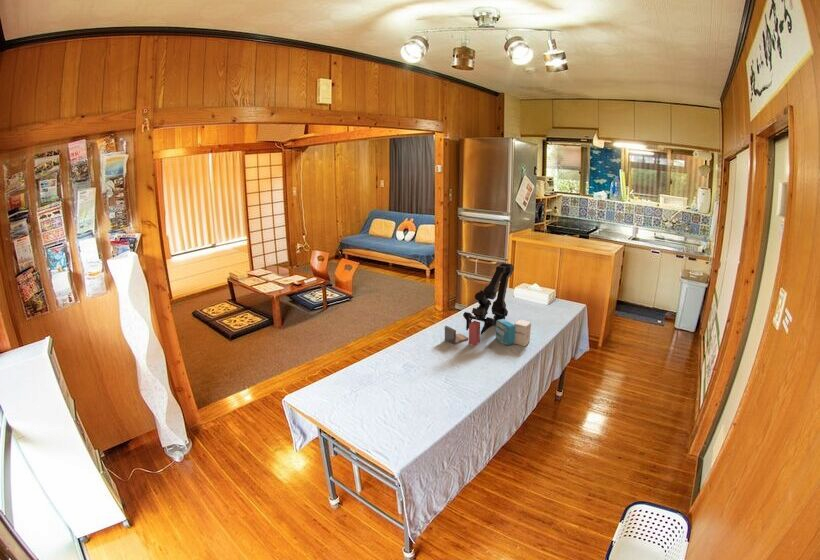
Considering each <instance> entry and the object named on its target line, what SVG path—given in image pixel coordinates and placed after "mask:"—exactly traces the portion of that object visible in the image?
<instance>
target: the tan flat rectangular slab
mask: <svg viewBox="0 0 820 560" xmlns="http://www.w3.org/2000/svg"><path fill="white" fill-rule="evenodd" d="M466 341H469V336H466V335H463V334H461V333H456V345H458V344H460V343H463V342H466Z"/></svg>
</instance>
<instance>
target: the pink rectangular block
mask: <svg viewBox="0 0 820 560" xmlns="http://www.w3.org/2000/svg"><path fill="white" fill-rule="evenodd" d="M480 341H481V321H478V320H472V322H471V323H470V324H469V329H468V345H471V346H477V345H478V344H479V343H480Z"/></svg>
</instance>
